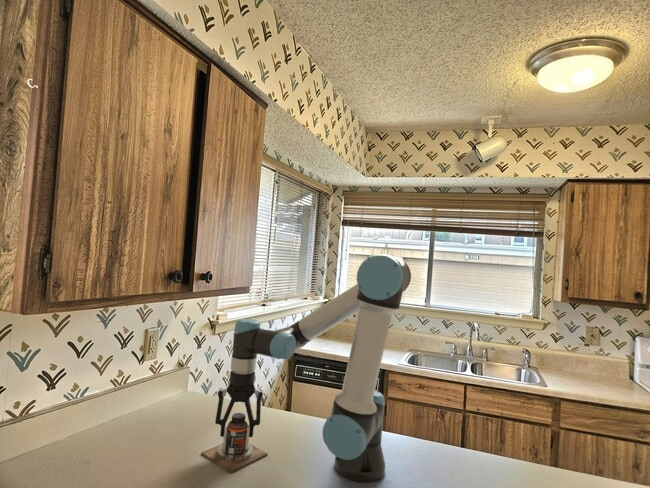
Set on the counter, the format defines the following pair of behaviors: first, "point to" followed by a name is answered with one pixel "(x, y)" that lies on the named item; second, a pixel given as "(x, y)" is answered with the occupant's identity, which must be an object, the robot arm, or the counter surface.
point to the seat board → (233, 466)
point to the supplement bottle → (236, 435)
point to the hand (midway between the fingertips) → (235, 447)
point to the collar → (234, 458)
